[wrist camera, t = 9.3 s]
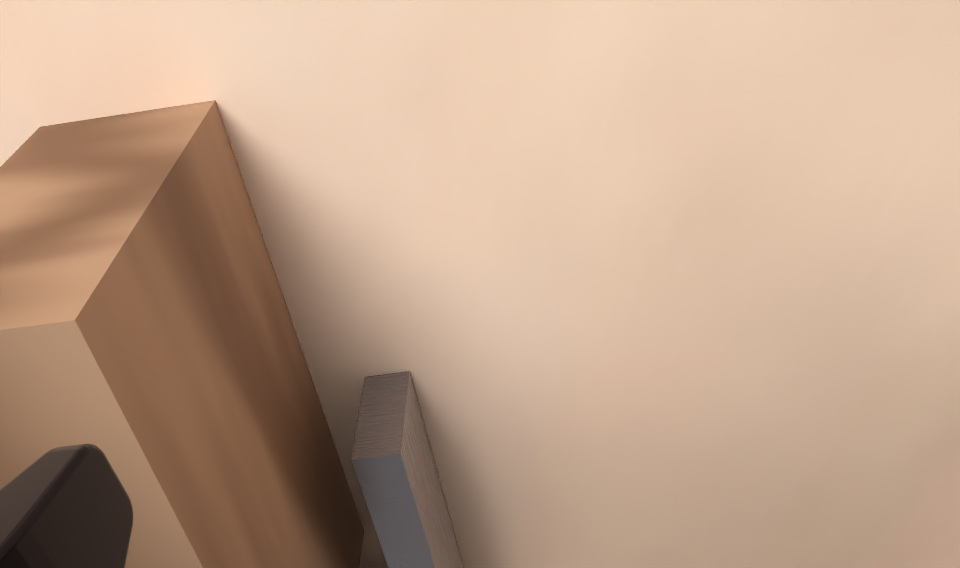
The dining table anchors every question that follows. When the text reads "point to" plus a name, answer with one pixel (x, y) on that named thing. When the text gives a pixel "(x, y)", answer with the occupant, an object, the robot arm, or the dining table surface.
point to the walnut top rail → (164, 345)
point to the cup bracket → (401, 477)
